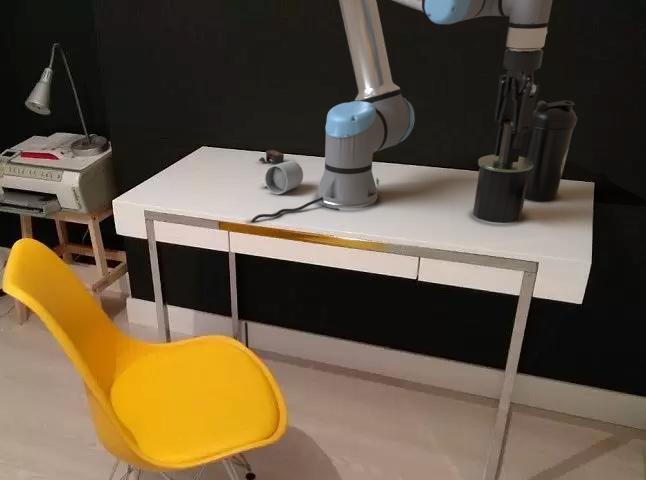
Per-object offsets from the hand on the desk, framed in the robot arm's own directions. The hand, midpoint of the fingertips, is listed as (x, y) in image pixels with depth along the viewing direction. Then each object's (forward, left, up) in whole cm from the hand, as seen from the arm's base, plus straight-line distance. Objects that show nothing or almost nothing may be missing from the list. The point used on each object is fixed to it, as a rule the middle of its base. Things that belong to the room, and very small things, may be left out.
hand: (506, 158), depth 158 cm
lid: (0, 0, -1) cm, 1 cm away
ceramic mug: (-46, +31, -14) cm, 57 cm away
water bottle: (+16, +11, -14) cm, 24 cm away
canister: (0, 0, -14) cm, 14 cm away
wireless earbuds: (-44, +55, -14) cm, 72 cm away
